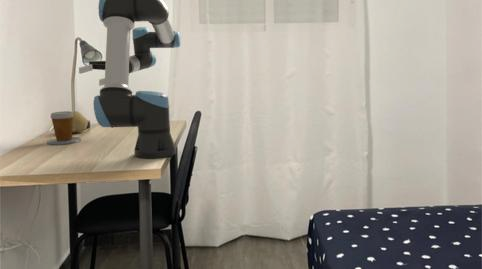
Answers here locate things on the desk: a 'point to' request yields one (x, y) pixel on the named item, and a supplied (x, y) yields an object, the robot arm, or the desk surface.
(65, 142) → the saucer
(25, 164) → the desk surface
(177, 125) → the desk surface
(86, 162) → the desk surface
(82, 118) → the tan rounded lump
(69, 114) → the disposable coffee cup
